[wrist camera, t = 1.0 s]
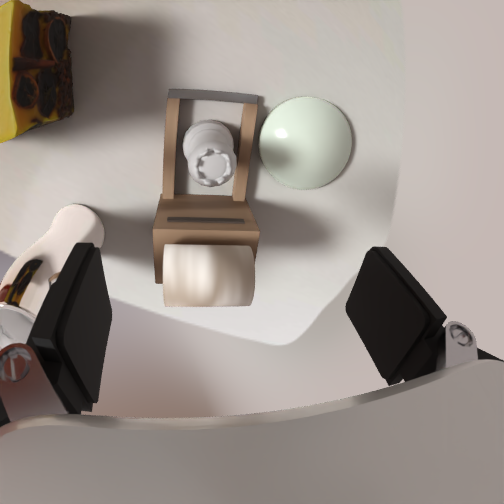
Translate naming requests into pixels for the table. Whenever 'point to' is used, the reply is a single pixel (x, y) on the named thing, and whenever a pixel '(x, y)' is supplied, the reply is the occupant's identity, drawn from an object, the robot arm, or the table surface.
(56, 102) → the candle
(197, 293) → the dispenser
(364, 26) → the table surface
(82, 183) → the table surface
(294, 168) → the pale green round disc
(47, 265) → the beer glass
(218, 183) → the rook chess piece
